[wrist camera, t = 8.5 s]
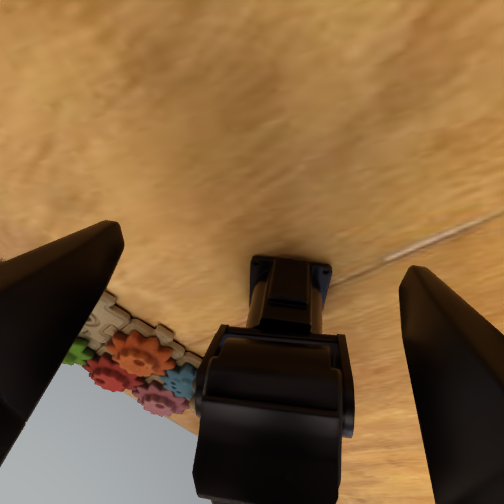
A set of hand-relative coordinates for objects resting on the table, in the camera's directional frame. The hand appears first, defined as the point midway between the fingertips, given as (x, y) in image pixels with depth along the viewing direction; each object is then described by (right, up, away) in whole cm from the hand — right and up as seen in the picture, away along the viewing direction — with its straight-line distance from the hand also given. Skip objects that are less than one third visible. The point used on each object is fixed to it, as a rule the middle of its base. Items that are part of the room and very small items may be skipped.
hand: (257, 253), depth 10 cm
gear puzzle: (-18, -10, +27) cm, 34 cm away
